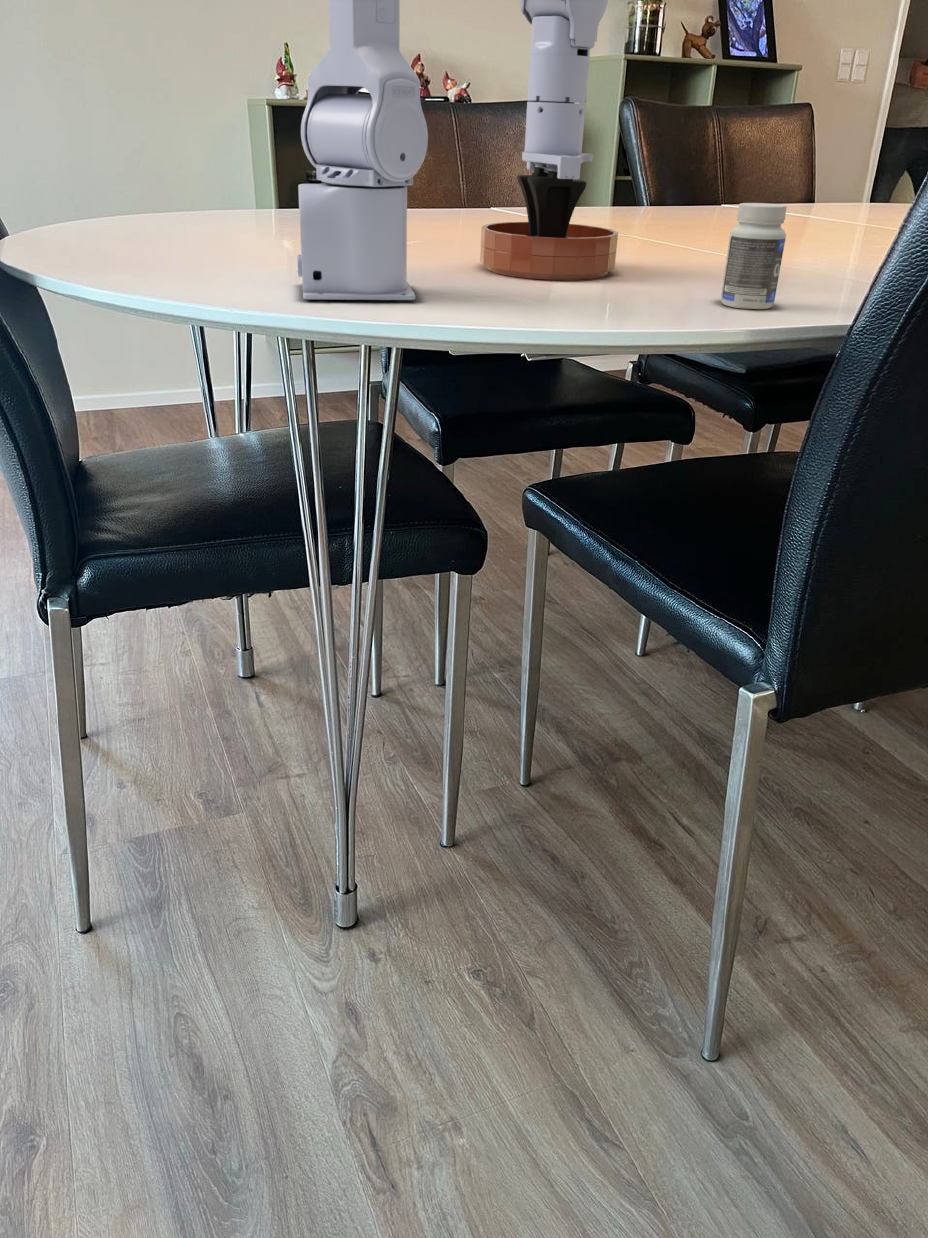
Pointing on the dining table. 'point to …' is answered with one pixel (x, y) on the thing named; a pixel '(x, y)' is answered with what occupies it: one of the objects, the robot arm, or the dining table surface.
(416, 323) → the dining table surface
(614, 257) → the bowl
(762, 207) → the pill bottle
